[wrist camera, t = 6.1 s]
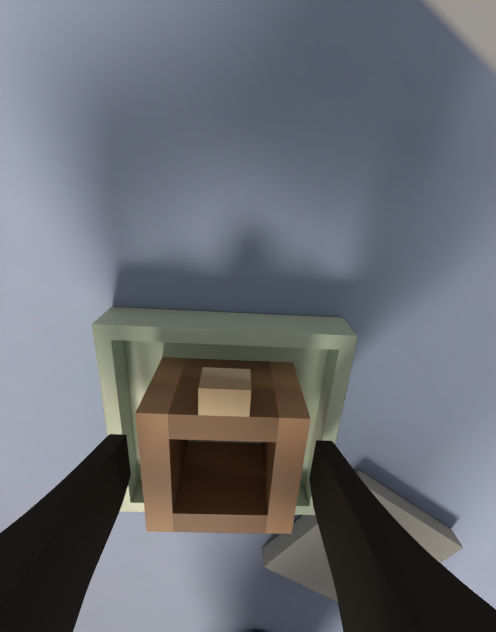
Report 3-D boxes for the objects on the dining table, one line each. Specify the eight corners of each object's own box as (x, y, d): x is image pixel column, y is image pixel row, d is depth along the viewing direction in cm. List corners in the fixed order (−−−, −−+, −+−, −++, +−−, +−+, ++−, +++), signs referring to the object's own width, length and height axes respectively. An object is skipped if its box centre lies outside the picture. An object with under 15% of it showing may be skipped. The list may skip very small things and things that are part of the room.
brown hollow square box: (280, 459, 15) (291, 534, 12) (167, 456, 15) (146, 531, 11) (295, 341, 13) (314, 392, 9) (161, 335, 12) (132, 385, 9)
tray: (311, 482, 16) (319, 515, 15) (131, 478, 16) (118, 511, 14) (342, 317, 13) (357, 336, 11) (112, 306, 12) (91, 324, 11)
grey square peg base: (354, 594, 20) (376, 670, 17) (262, 548, 18) (266, 624, 15) (451, 529, 18) (498, 603, 15) (358, 469, 16) (387, 539, 13)
